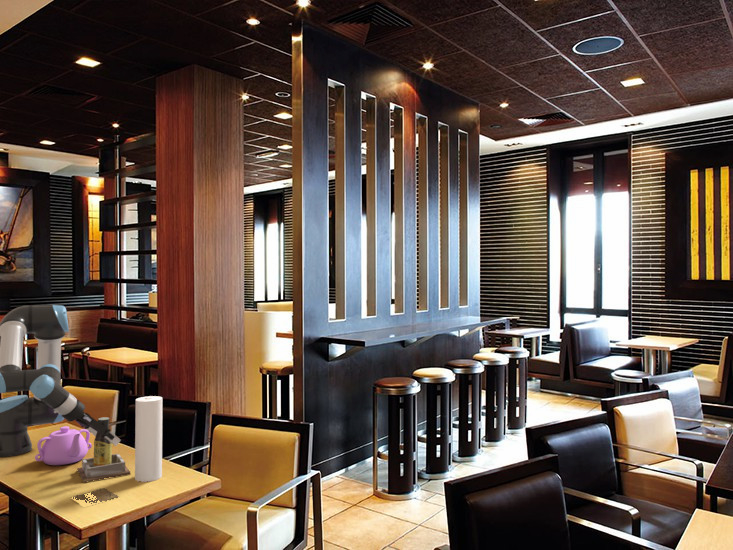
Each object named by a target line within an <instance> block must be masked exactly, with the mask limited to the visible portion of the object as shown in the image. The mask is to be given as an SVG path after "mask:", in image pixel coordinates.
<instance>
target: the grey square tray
mask: <svg viewBox="0 0 733 550" xmlns="http://www.w3.org/2000/svg"><path fill="white" fill-rule="evenodd" d="M81 461H82V462H81V463H82V464H81V465H82V466H81V467H77V468H76V469H77V470H78V471H77V470H76V471H77V473H78V472H79V473H78V475H79V474H80V475H79V476H81V477H80V479H81V478H82V479H81V481H82V480H83V481H82V483H83V482H87V481H93V480H98V481H100V480H99V479H103V480H105V479H104V478H109V477H114V478H117V477H116V476H120V477H122V476H121V475H125V476H128V475H127V474H130V475H131V471H130V470H129V468H128V467H127V466H126V461H125V460H124V459H123V457H122V456H121V455H120V454H119V453H114V454H112V459H111V464H108V465H102V466H97V467H94V466H93V465H94V457H90V458H83V459H81ZM109 479H110V478H109ZM93 482H94V481H93ZM87 483H88V482H87Z"/></svg>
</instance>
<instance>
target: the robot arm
mask: <svg viewBox="0 0 733 550" xmlns="http://www.w3.org/2000/svg"><path fill="white" fill-rule="evenodd" d="M68 332H70V329H69V322H68V313H67V308H66V307H65V306H64V305H58V304H56V305H55V304H52V305H51V304H50V305H49V304H47V305H46V304H45V305H41V304H40V305H22V306H19V307H16V308H14V309H12V310H11V311H9V312H7V314H5V315H4V317H3V318H2V319H1V320H0V394H6V393H17V392H18V393H19V392H27V391H30V393H32V395H33V397H30V398H29V397H28V395H26V394H23V395H21V394H20V395H14V396H9V397H6V398H3V399H0V458H7V457H8V458H9V457H14V456H19V455H23V454H27V453H29V452H31V451H32V449H33V444H32V440H31V438H30V436H29V432H28V427H29V426H37V425H38V426H39V425H46V424H47V425H49V424H56V423H61V422H63V421H64V420H66V421H67V422H74V421H75V422H76V423H77V424H78V425H80V426H81V428H83V429H86V430H88V431H89V432H90V434H92V435H93V436H94V437H96V434H97V432H99V433H100V434H102V435H103V436H102V438H104V437H105V438H106V439H107V440H108V441H110V442H111V443H112V446H115V447H117V445H119V443H120V442H121V441H122V439H120V438H119V437H118V436H117V435H116V434H114V433H113V432H112V431H111V429H110V428H109V429H108V428H106V427H105V426H103V425H102V424H101V423H99V422H98V420H96V419H95V418H94V417H92V416H91V415H90V414H89V413H87V412H85V409H86V406H85V404H84V403H83V402H81V401H80V400H79V399H77V398H76V397H75V396H74V395H73V394H72V393H70V392H69V391H68V390H67V389H65V388H64V387H63V386H62V383H61V382H62V381H61V378H62V377H61V365H62V364H61V361H62V358H61V357H62V356H61V355H62V339H64V338H65V337H66V333H68ZM27 334H33V338H35V339H36V340H37V368H36V369H24V370H22V368H23V353H24V351H23V349H24V347H23V346H24V337H25V336H26V335H27Z"/></svg>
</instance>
